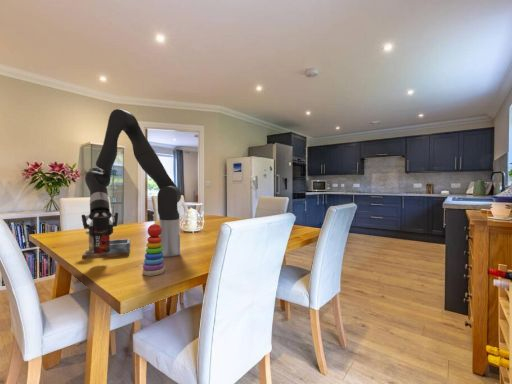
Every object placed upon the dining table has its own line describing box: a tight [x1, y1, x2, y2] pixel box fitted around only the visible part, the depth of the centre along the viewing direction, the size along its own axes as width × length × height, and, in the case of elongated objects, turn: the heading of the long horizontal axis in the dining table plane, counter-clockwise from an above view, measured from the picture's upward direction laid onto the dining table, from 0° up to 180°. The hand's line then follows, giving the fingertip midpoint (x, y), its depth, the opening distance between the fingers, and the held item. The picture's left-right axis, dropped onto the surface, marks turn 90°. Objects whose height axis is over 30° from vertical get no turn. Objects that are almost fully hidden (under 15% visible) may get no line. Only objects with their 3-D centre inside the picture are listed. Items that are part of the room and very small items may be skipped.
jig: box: [81, 230, 131, 260], centre depth 124 cm, size 19×11×12 cm, turn 114°
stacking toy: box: [141, 223, 165, 277], centre depth 98 cm, size 8×8×19 cm
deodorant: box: [93, 216, 111, 254], centre depth 108 cm, size 6×6×15 cm
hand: (101, 234), depth 107 cm, fingers closed on deodorant, 6 cm apart
